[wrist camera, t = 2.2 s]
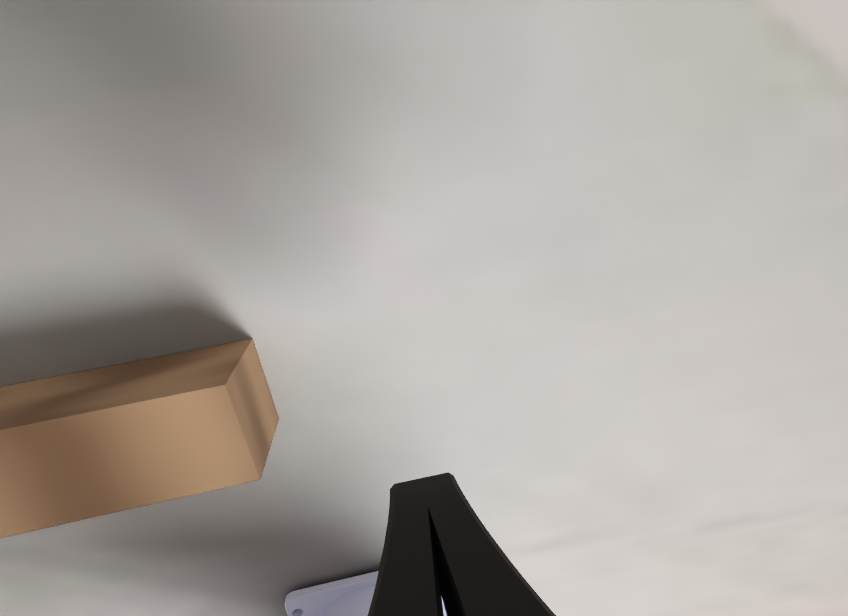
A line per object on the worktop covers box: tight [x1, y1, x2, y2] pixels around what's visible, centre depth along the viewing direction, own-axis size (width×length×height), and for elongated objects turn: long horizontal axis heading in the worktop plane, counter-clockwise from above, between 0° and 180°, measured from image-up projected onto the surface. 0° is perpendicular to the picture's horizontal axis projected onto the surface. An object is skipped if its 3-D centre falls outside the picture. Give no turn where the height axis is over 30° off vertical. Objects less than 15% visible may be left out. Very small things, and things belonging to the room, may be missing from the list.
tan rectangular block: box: [0, 339, 279, 538], centre depth 14 cm, size 10×4×4 cm, turn 98°
